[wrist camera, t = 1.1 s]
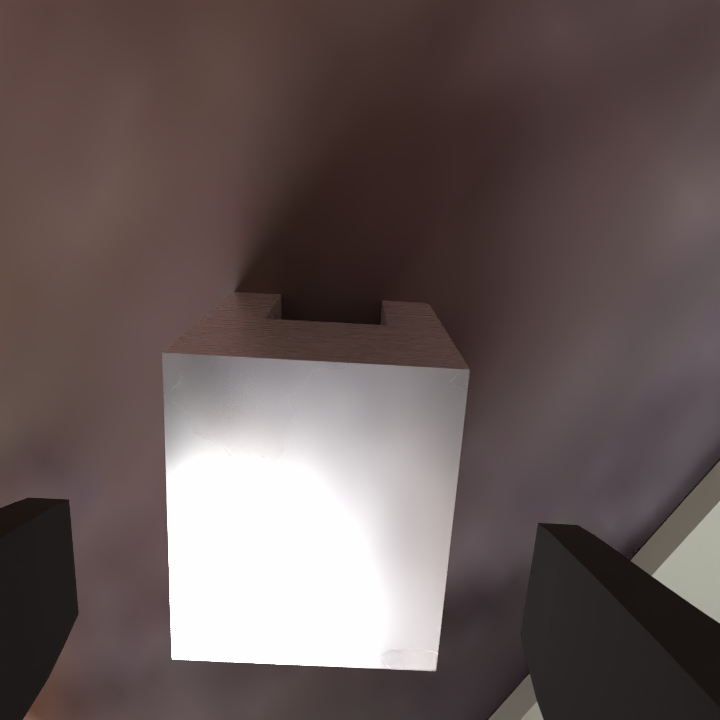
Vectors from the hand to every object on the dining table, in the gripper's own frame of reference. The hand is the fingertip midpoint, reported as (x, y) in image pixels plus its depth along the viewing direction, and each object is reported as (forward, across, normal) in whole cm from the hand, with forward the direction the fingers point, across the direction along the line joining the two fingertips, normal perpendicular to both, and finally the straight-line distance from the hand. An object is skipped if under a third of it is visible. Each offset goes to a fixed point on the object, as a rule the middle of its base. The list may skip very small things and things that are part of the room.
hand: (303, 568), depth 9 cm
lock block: (+7, 0, 0) cm, 7 cm away
